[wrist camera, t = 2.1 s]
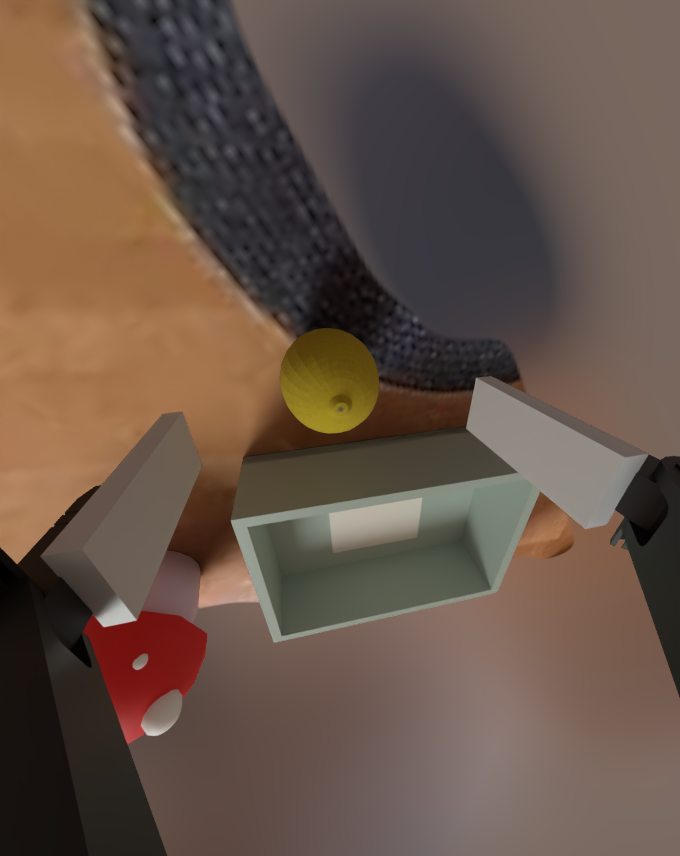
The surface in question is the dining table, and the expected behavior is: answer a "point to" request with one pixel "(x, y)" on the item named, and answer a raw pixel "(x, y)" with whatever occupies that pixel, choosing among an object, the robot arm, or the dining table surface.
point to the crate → (377, 528)
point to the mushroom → (154, 651)
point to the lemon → (329, 380)
